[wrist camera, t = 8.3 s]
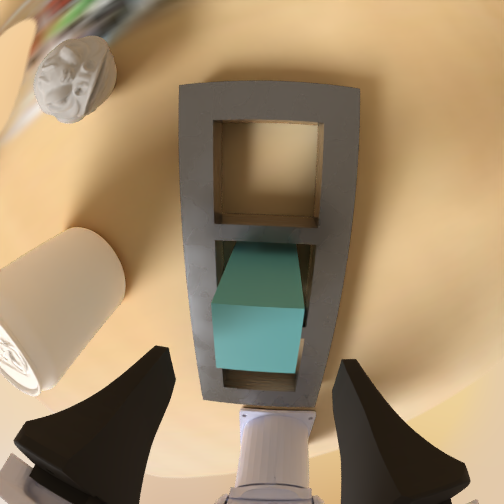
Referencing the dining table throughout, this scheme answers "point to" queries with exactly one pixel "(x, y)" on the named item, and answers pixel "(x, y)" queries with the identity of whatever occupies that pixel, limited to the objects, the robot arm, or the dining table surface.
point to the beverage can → (55, 306)
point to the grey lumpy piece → (75, 78)
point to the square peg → (259, 309)
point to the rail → (267, 223)
